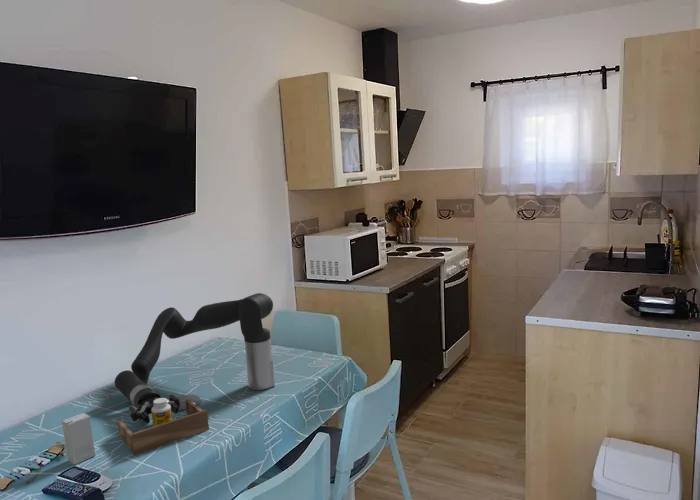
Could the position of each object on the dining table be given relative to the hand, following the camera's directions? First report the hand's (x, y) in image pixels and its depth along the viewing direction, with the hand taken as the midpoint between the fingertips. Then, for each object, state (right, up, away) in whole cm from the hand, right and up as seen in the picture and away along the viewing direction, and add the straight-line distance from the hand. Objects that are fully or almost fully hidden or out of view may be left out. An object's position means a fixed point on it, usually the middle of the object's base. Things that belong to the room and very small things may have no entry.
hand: (162, 415), depth 166 cm
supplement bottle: (0, -6, +2) cm, 6 cm away
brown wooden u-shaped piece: (0, -6, +2) cm, 6 cm away
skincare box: (-19, -9, -11) cm, 24 cm away
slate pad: (-1, -3, +22) cm, 22 cm away
